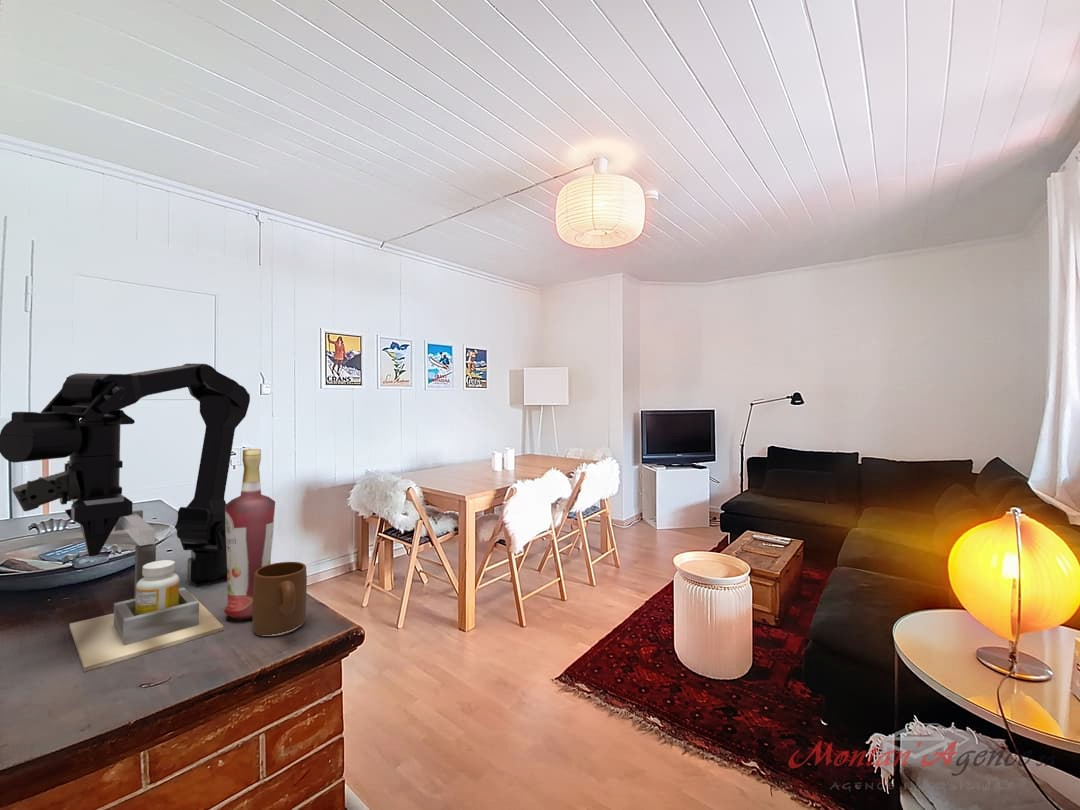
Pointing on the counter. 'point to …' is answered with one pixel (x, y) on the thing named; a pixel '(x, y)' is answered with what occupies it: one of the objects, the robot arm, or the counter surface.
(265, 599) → the mug
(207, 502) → the robot arm
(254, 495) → the liquor
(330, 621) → the counter surface
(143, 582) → the supplement bottle
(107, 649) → the socket board
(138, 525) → the keeper bolt
